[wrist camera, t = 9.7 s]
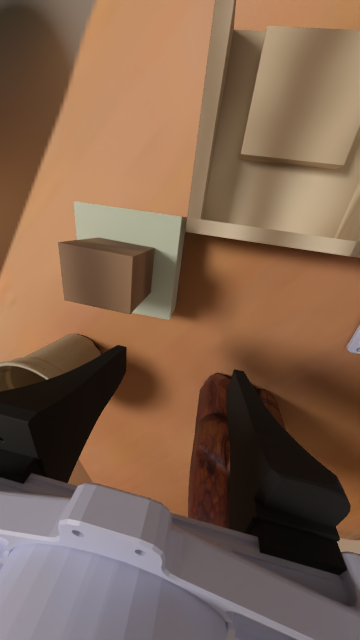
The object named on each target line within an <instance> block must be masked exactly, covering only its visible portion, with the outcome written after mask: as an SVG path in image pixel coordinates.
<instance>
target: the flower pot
mask: <svg viewBox="0 0 360 640" xmlns="http://www.w3.org/2000/svg"><path fill="white" fill-rule="evenodd" d="M100 355H101V352H100V350H98V349H97V348H96V347H95V345H94V343H93V342H92V341H91V340H90V339H88V338H86V337H84V336H81V335H77V334H70V335H67V336H64V337H62V338H61V339H59V340H57V341H55V342H53V343H51V344H49V345H47V346H45V347H43V348H41V349H39V350H37V351H35V352H33V353H31V354H29V355H27V356H25V357H22V358H17V359H14V360H12V361H6V362H1V363H0V392H1V391H5V390H10V389H15V388H19V387H23V386H27V385H31V384H34V383H38V382H41V381H44V380H47V379H50V378H53V377H56V376H59V375H61V374H64V373H66V372H69V371H71V370H73V369H75V368H78V367H80V366H82V365H83V364H85V363H87V362H89V361H91V360H93V359H95V358H97V357H98V356H100Z"/></svg>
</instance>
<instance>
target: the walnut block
mask: <svg viewBox="0 0 360 640" xmlns="http://www.w3.org/2000/svg"><path fill="white" fill-rule="evenodd" d="M58 246H59V255H60V264H61V273H62V282H63V291H64V300H66V301H71V302H75V303H80V304H85V305H89V306H94V307H98V308H103V309H108V310H112V311H117V312H122V313H126V314H131V313H132V312H133V311H134V310H135V309H136V308H137V307H138V306H139V305H140V303H141V302H142V301H143V300H144V299H145V298H146V297H147V296H148V295H149V294H150V293H151V285H152V274H153V263H154V252H155V248H153V247H148V246H142V245H137V244H132V243H126V242H121V241H115V240H110V239H105V238H99V237H98V238H90V239H82V240H74V241H65V242H58Z"/></svg>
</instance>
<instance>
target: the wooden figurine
mask: <svg viewBox="0 0 360 640" xmlns="http://www.w3.org/2000/svg"><path fill="white" fill-rule="evenodd" d="M230 381H231V379H229V378H227V377H226V376H224V375H221V374H219V373H215V374H214V375H212V376H210V377H209V378H208V379H207V380H206V381H205V383H204V385H203V386H202V388H201V389H200V394H199V402H198V410H197V417H196V427H195V438H194V443H193V451H192V457H191V466H190V478H189V496H188V518H192V519H196V520H199V521H203V522H206V523H210V524H213V525H217V526H220V527H224V528H227V529H228V526H229V498H230V442H229V432H228V422H227V411H226V396H227V390H228V387H229V384H230ZM253 388H254V387H253ZM254 390H255V391H256V393H257V394H258V396H259V397H260V399H261V400H262V402H263V403H264V405H265V406H266V408H267V409H268V410H269V412H270V413H271V414H272V415H273V417H274V418H275V419H276V420H277V421H278V423H279V424H280V425H281V426H282V427H283V428H284V429H285V426H284V423H283V419H282V417H281V413H280V410H279V408H278V405H277V403H276V401H275V399H274V397H273V396H272V395H271V394H270V393H269V392H268V391H266V390H264V389H262V390H257V389H255V388H254Z"/></svg>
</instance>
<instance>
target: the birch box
mask: <svg viewBox="0 0 360 640" xmlns="http://www.w3.org/2000/svg"><path fill="white" fill-rule="evenodd" d="M235 6H236V0H215V5H214V12H213V20H212V28H211V36H210V44H209V51H208V59H207V67H206V75H205V83H204V90H203V98H202V106H201V114H200V122H199V129H198V137H197V145H196V153H195V161H194V168H193V176H192V184H191V192H190V200H189V207H188V215H187V223H186V231H185V232H190V233H197V234H203V235H210V236H217V237H223V238H230V239H237V240H243V241H250V242H257V243H263V244H270V245H277V246H284V247H290V248H297V249H304V250H310V251H317V252H324V253H330V254H337V255H344V256H351V257H357V258H360V30H342V29H323V28H303V27H283V26H267V29H266V31H251V30H234V19H235Z"/></svg>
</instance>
